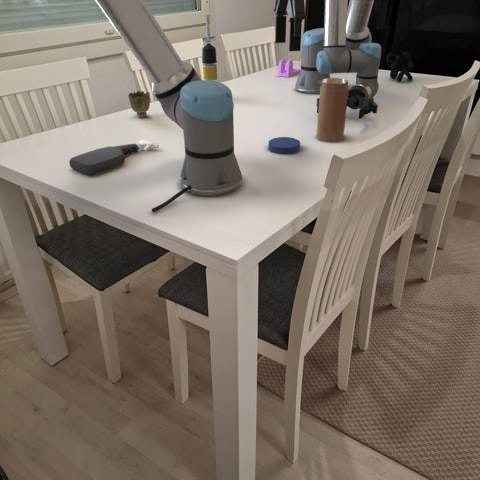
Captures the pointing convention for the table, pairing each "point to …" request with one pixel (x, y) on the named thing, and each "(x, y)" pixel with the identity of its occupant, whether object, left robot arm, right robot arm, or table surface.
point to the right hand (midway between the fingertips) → (338, 111)
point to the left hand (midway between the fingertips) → (287, 46)
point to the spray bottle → (106, 157)
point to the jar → (332, 109)
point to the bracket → (287, 69)
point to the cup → (140, 102)
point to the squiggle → (399, 66)
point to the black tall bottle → (209, 57)
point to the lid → (284, 145)
